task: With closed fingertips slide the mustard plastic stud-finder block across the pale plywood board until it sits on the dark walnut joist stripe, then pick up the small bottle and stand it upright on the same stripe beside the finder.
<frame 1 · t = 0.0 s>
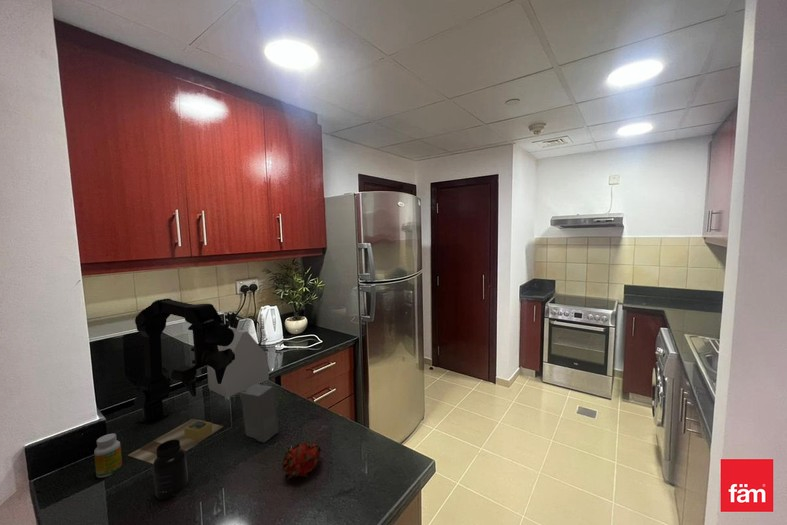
hand: (207, 389, 102), 15 cm above the worktop, fingers open, 9 cm apart
plywood board: (179, 442, 99), on the worktop
skincare box: (261, 436, 101), on the worktop
milk carton: (239, 384, 139), on the worktop
dragon fruit: (303, 472, 84), on the worktop
supplement bottle 2: (109, 471, 87), on the worktop
stud finder: (198, 434, 101), point 1 cm above the worktop, touching plywood board
supplement bottle: (172, 490, 79), on the worktop
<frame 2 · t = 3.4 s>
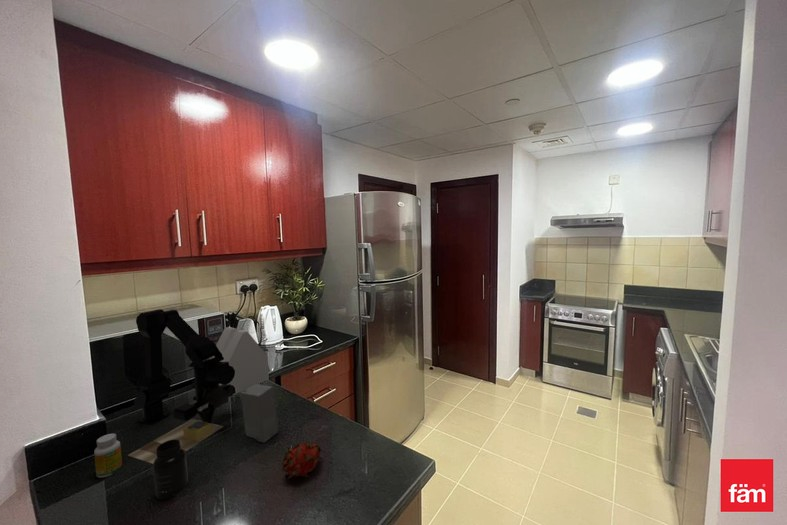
hand: (208, 425, 104), 2 cm above the worktop, fingers closed
stud finder: (197, 434, 101), point 1 cm above the worktop, touching gripper
everything else where it was.
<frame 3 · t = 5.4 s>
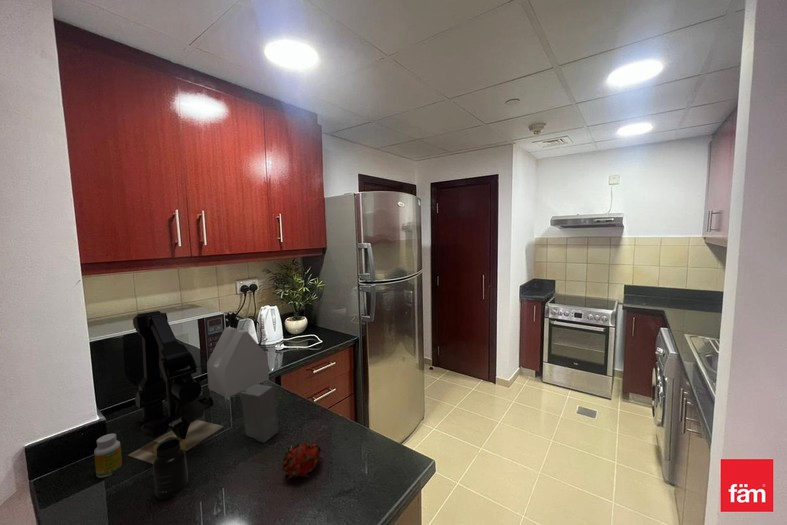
hand: (182, 441, 96), 2 cm above the worktop, fingers closed
stud finder: (170, 452, 92), point 1 cm above the worktop, touching gripper, plywood board
everything else where it was.
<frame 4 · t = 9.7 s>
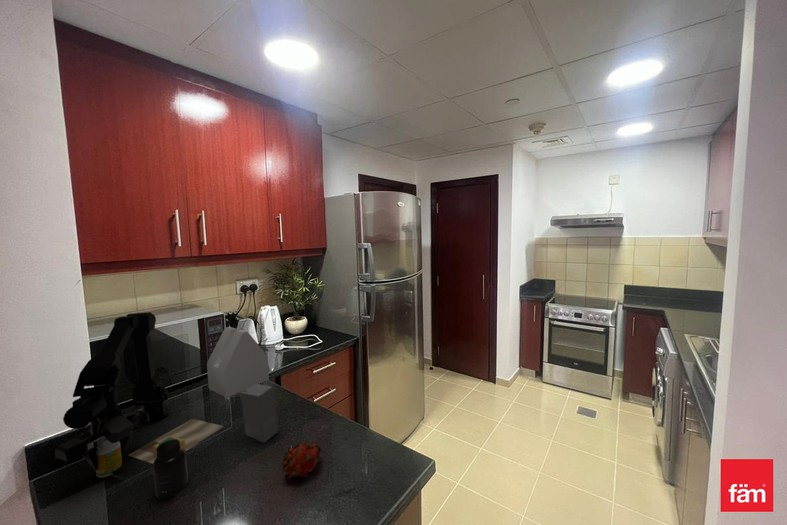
hand: (108, 462, 87), 3 cm above the worktop, fingers closed on supplement bottle 2, 5 cm apart
supplement bottle 2: (109, 471, 87), on the worktop, touching gripper
stud finder: (169, 452, 92), point 1 cm above the worktop, touching plywood board
everything else where it was.
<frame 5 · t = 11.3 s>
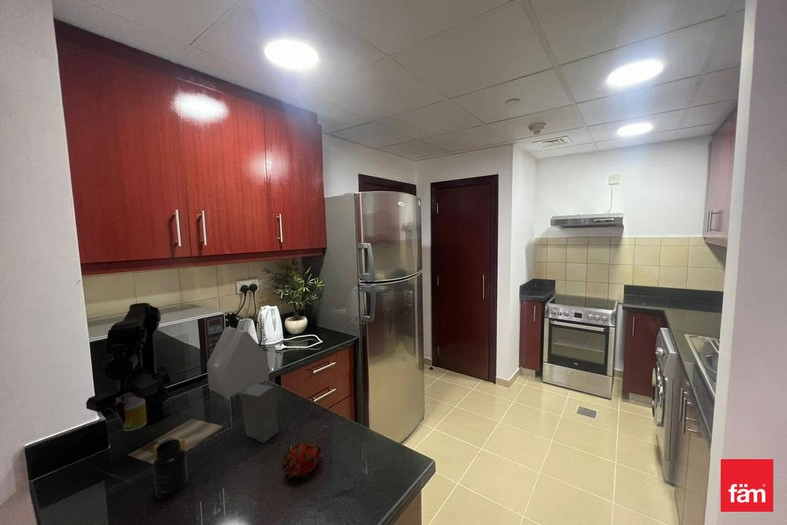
hand: (134, 417, 91), 12 cm above the worktop, fingers closed on supplement bottle 2, 5 cm apart
supplement bottle 2: (135, 426, 92), point 9 cm above the worktop, touching gripper
everything else where it was.
when the fingers open (4 cm above the worktop, at t = 13.5 s): supplement bottle 2 stays where it is, resting on plywood board.
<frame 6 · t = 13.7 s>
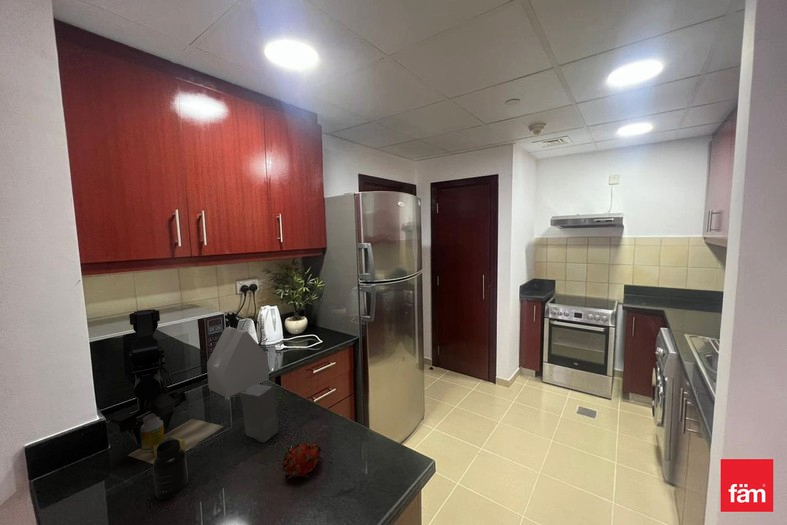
hand: (152, 436, 95), 4 cm above the worktop, fingers open, 8 cm apart
supplement bottle 2: (153, 447, 95), point 1 cm above the worktop, touching plywood board
everything else where it was.
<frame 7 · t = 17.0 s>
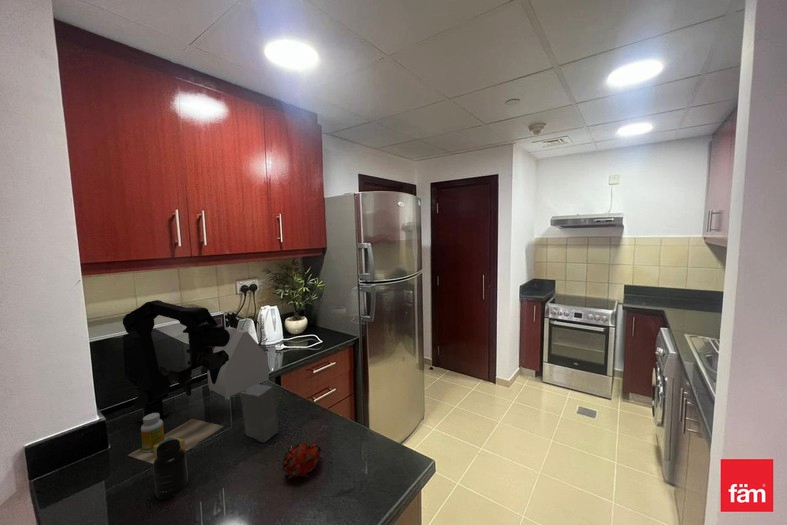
hand: (202, 389, 108), 12 cm above the worktop, fingers open, 9 cm apart
nothing on the worktop moved.
at the end: stud finder inside the target area (0.1 cm from its centre), point 1.0 cm above the worktop; supplement bottle 2 inside the target area (0.1 cm from its centre), point 0.8 cm above the worktop; supplement bottle 2 tilted 0° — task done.
